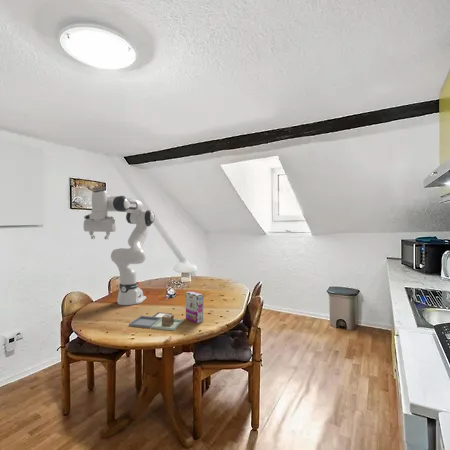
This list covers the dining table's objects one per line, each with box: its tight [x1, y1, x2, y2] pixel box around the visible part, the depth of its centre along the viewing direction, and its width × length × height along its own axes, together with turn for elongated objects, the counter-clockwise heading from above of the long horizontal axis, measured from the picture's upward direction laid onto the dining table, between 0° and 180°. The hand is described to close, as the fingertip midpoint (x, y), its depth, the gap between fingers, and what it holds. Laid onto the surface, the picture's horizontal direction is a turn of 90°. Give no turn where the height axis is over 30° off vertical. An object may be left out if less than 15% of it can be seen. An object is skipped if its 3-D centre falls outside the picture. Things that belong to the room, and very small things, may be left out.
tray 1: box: [128, 315, 161, 329], centre depth 159 cm, size 13×13×2 cm
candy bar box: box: [185, 290, 204, 324], centre depth 164 cm, size 11×5×16 cm, turn 44°
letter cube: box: [162, 314, 175, 327], centre depth 156 cm, size 5×5×5 cm
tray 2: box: [151, 318, 184, 331], centre depth 156 cm, size 13×13×2 cm
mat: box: [151, 311, 173, 318], centre depth 171 cm, size 10×10×1 cm
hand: (99, 239), depth 168 cm, fingers open, 8 cm apart
